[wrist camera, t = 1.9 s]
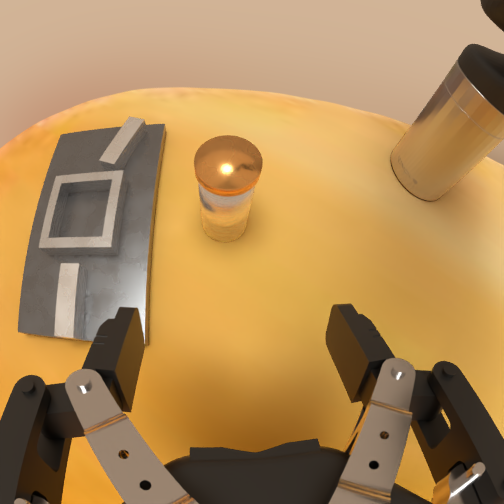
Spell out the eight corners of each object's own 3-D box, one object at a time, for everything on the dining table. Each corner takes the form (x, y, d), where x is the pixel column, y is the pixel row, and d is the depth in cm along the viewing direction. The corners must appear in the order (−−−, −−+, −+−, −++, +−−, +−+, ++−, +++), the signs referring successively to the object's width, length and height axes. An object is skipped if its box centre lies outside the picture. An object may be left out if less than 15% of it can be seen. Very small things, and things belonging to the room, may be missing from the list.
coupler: (236, 194, 31) (245, 128, 22) (256, 233, 30) (274, 176, 21) (193, 210, 30) (185, 146, 21) (211, 251, 29) (208, 198, 19)
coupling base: (65, 141, 32) (55, 124, 28) (166, 132, 33) (162, 111, 30) (25, 333, 23) (6, 329, 20) (148, 345, 25) (138, 342, 22)
